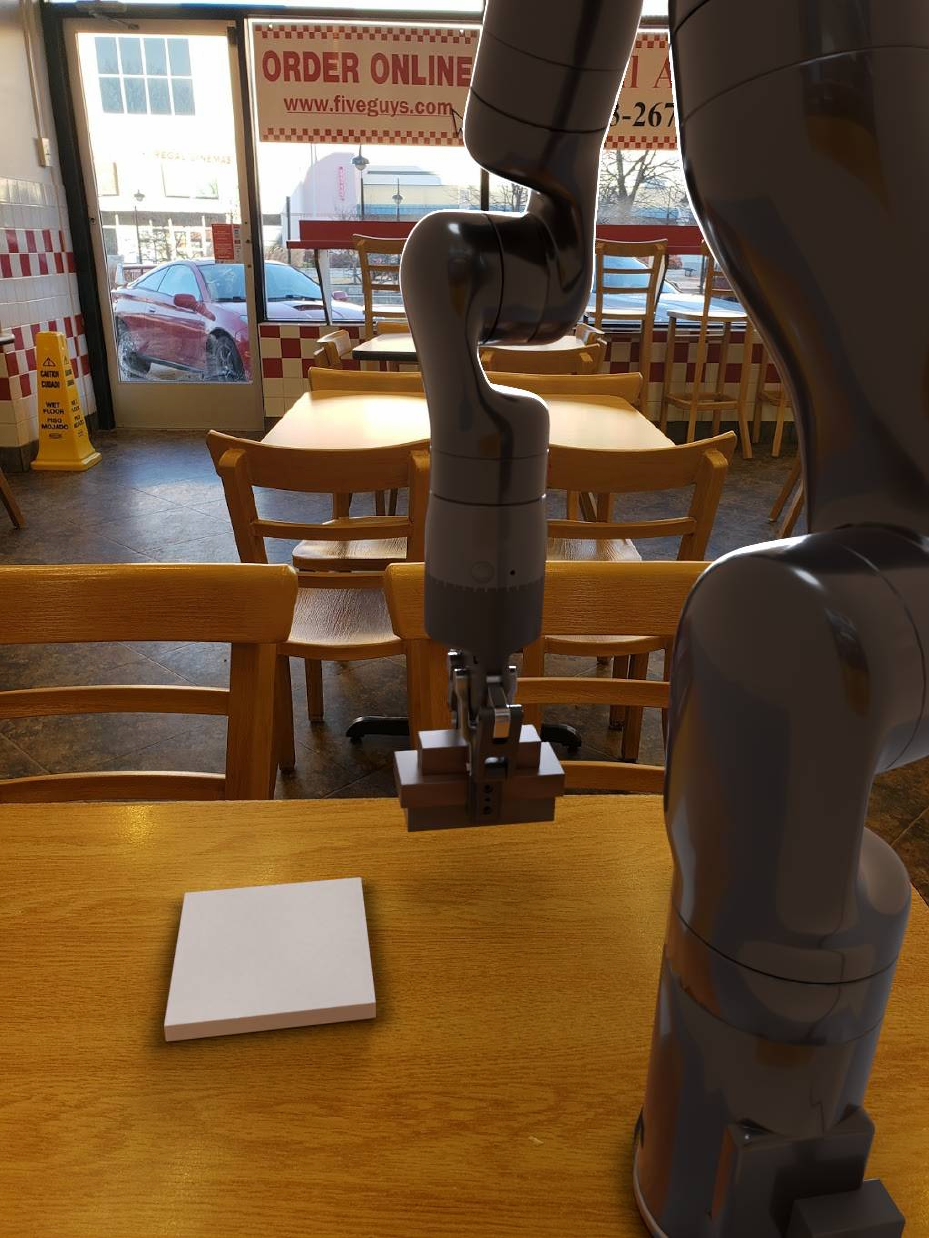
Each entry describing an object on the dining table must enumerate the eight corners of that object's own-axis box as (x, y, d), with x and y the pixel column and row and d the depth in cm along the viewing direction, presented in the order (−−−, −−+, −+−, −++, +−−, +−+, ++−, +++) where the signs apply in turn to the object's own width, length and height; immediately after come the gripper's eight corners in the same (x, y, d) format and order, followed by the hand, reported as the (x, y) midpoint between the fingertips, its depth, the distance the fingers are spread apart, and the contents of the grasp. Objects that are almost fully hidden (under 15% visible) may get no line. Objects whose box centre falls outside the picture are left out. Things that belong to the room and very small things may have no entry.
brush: (545, 787, 68) (550, 716, 66) (562, 822, 64) (567, 747, 62) (393, 798, 66) (393, 725, 64) (400, 835, 62) (400, 758, 60)
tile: (375, 1018, 56) (375, 1002, 55) (165, 1042, 54) (163, 1025, 53) (361, 890, 67) (360, 876, 66) (186, 906, 65) (184, 892, 64)
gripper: (576, 601, 52) (556, 857, 59) (518, 529, 65) (507, 745, 72) (442, 606, 51) (437, 868, 57) (410, 531, 64) (409, 751, 70)
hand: (476, 798), depth 64 cm, fingers closed on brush, 4 cm apart
